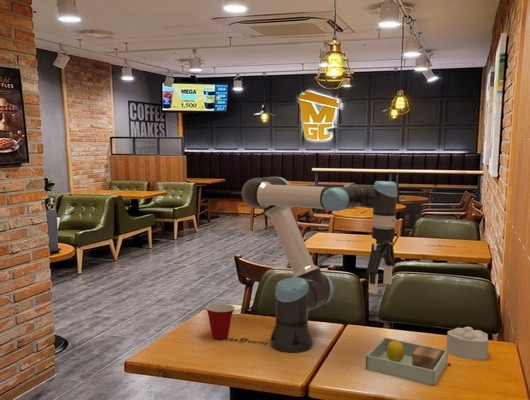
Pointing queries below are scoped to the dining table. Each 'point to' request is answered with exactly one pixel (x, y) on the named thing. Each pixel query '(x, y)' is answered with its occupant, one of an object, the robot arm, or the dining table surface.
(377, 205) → the robot arm
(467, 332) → the lumpy-topped squat cylinder
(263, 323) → the dining table surface
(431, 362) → the walnut block
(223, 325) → the plastic cup
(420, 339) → the dining table surface
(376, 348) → the box
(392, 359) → the lemon
